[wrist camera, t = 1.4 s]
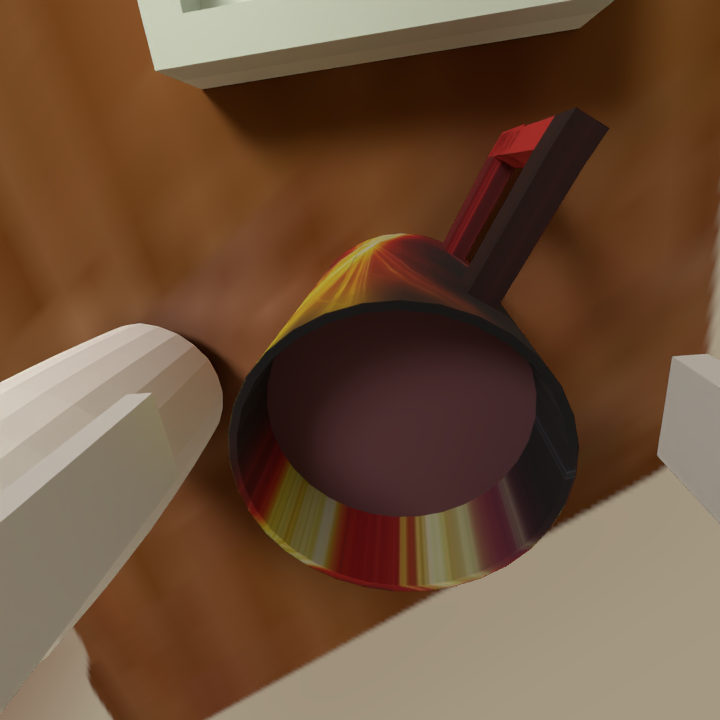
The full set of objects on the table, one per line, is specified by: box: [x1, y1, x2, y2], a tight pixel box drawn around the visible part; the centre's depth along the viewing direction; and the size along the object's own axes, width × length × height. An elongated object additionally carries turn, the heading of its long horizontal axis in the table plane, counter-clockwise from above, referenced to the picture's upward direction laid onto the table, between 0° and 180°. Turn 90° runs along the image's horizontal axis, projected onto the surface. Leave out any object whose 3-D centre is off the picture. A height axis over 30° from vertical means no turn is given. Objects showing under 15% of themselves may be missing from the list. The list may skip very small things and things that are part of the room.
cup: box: [0, 323, 223, 661], centre depth 19 cm, size 8×8×14 cm
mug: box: [228, 108, 609, 591], centre depth 17 cm, size 10×14×12 cm
